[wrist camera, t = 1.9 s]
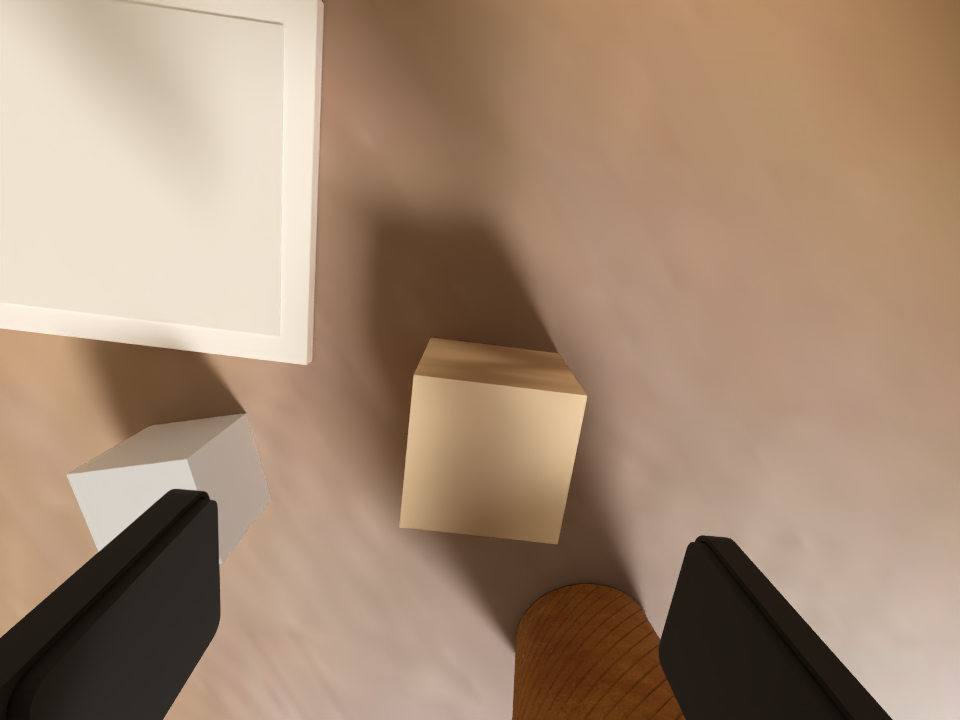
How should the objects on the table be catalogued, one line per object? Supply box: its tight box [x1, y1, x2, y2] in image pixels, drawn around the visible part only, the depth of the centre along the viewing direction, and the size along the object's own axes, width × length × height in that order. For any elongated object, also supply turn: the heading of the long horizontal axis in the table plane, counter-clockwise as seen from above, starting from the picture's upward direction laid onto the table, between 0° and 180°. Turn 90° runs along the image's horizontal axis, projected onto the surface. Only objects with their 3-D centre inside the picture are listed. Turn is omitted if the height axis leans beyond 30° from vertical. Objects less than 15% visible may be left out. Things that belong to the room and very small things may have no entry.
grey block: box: [66, 413, 271, 564], centre depth 17 cm, size 4×4×4 cm
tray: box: [0, 0, 324, 365], centre depth 16 cm, size 12×12×1 cm
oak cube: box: [399, 337, 587, 544], centre depth 16 cm, size 5×5×5 cm
